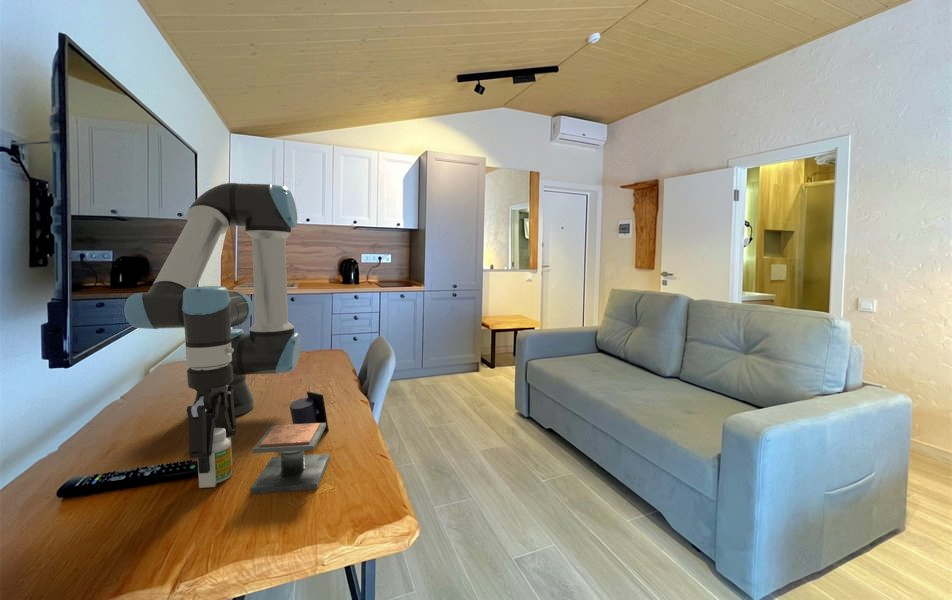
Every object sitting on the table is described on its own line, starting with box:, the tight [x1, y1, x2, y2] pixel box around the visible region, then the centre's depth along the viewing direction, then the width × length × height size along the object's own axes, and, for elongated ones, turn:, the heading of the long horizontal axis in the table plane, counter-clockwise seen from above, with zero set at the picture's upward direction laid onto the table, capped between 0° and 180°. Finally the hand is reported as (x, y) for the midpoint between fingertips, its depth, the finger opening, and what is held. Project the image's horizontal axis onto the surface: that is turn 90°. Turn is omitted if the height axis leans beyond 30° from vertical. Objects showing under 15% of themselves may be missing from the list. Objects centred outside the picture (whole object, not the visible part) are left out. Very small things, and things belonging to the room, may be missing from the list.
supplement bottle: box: [212, 427, 233, 484], centre depth 81 cm, size 5×5×10 cm
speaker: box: [289, 390, 330, 432], centre depth 102 cm, size 8×6×10 cm
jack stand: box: [249, 423, 331, 495], centre depth 82 cm, size 12×12×9 cm
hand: (216, 476), depth 81 cm, fingers open, 6 cm apart
